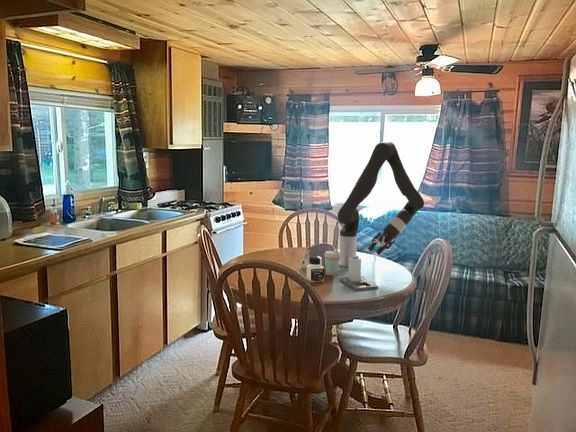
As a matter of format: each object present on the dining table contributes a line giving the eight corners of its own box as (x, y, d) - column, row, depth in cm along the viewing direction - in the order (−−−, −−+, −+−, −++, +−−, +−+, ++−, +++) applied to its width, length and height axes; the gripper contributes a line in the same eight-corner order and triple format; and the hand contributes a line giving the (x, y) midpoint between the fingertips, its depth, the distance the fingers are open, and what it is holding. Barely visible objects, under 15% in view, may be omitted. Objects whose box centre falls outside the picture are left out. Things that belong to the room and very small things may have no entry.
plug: (348, 281, 240) (348, 255, 238) (356, 280, 241) (357, 254, 239) (352, 283, 235) (352, 257, 233) (360, 282, 237) (361, 256, 235)
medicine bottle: (310, 282, 238) (311, 258, 236) (306, 278, 244) (306, 255, 242) (324, 281, 239) (324, 258, 238) (319, 277, 246) (320, 254, 244)
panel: (339, 280, 240) (339, 277, 240) (361, 278, 244) (361, 276, 244) (355, 291, 224) (355, 288, 223) (378, 289, 227) (378, 286, 227)
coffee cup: (339, 277, 247) (339, 254, 245) (322, 276, 249) (323, 253, 247) (340, 272, 255) (341, 250, 254) (324, 271, 257) (325, 250, 255)
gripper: (382, 220, 246) (362, 244, 244) (397, 225, 233) (375, 249, 231) (391, 230, 249) (371, 253, 247) (406, 235, 235) (385, 259, 233)
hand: (373, 251), depth 239 cm, fingers open, 8 cm apart
